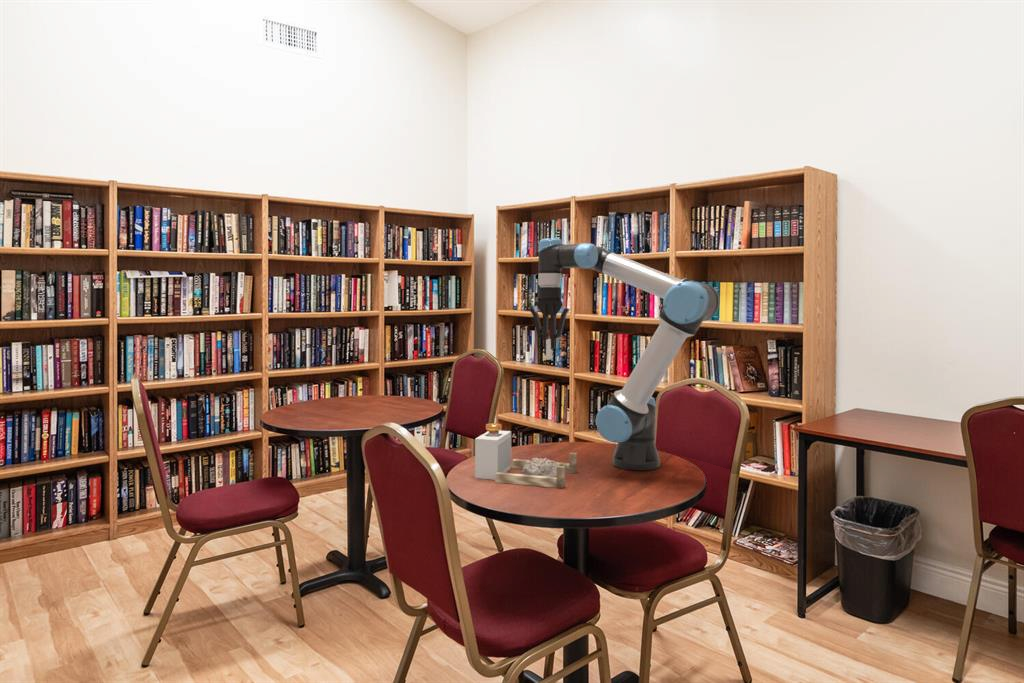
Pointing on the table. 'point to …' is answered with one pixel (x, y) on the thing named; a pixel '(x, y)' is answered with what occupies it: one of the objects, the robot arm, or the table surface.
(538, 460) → the rock
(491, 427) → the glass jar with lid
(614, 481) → the table surface
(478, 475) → the white button box
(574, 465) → the track
